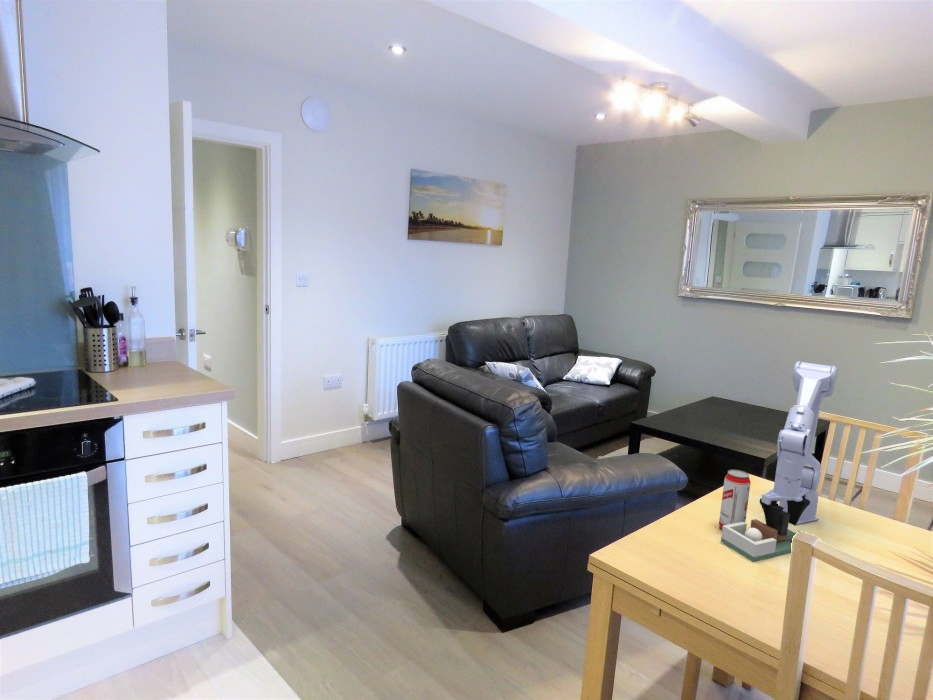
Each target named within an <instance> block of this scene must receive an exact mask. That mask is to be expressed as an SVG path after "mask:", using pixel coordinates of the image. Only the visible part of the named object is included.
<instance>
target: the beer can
mask: <svg viewBox="0 0 933 700" xmlns="http://www.w3.org/2000/svg"><path fill="white" fill-rule="evenodd" d="M723 481H724V482H723V486H722V487H723V489H722V496H721V504H720V511H719V520H718V525H719V527H720V529H721V528H723V526H724V525H729V524H734V523H739V522H745V523H746V522H747V513H748V505H749V498H750V497H749V496H750V490H751V482H752V481H751V479H750V474H749V473H748V472H746V471H745V470H744V471H743V470H739V469H729V470H727V474H725V477H724V480H723Z"/></svg>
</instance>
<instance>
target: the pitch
mask: <svg viewBox="0 0 933 700" xmlns="http://www.w3.org/2000/svg"><path fill="white" fill-rule="evenodd" d="M747 525H748V523H746V522H739V523H734V524H729V525H724V526H723V528H722V529H721V537H720V542H721V543H722V542H723V543H722V544H724V545H725V544H726V545H725V546H727V547H729V548H730V549H732V550H734V551H735V552H737V553H738V554H740V555H742V556H743V557H745V558H746V559H748V560H750V561H751V562H757V561H758V562H759V561H763V560H766V559H771V558H774V557H778V556H784V555H788V554H791V543H792V538H793V536H794V535H795V534H796V532H795V531H793V530H791V529H789V528H788V531H787V536H789V539H788V540H783V541H779V542H777V540H776V539H774V538H769V539H765V540H760V541H756V542H754V541H752V540H751V539H749V538H747V537H745V532H746V530H747V527H748V526H747Z"/></svg>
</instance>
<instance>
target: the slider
mask: <svg viewBox="0 0 933 700" xmlns="http://www.w3.org/2000/svg"><path fill="white" fill-rule="evenodd" d="M789 518H790V514H789V513H787V512H785V511H783V510H782V512H781V513H780V516H779V518H778V522H777V526H776V529H774V528H772V527H770V526H768V525H766V523H764V522H762V521H760V520H758V519H757V518H755V519H751V521H750V527H749V528H756V529H758V530H759V531H760V532H761V534H762V540H765V539H769V538H774V539H776V540H777V542H779V541H783V540H788V539H789V536H787V531H788V529H789V524H790V523H789Z"/></svg>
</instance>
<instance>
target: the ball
mask: <svg viewBox="0 0 933 700" xmlns="http://www.w3.org/2000/svg"><path fill="white" fill-rule="evenodd" d="M745 537H747V538H749V539H751V540H752V541H754V542H756V541H760V540H762V534H761V532H760V531H759V530H758V529H756V528H750V527H749V528H748V529H747V528H746V532H745Z"/></svg>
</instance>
